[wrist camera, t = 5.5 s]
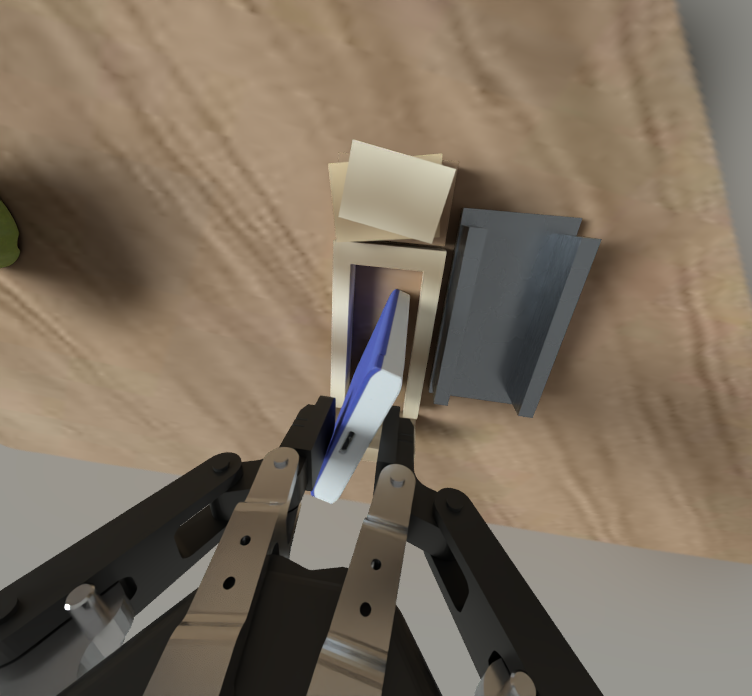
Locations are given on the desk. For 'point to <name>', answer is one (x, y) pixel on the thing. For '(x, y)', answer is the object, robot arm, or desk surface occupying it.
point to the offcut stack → (391, 195)
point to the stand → (508, 305)
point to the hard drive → (366, 398)
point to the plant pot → (7, 238)
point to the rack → (343, 305)
